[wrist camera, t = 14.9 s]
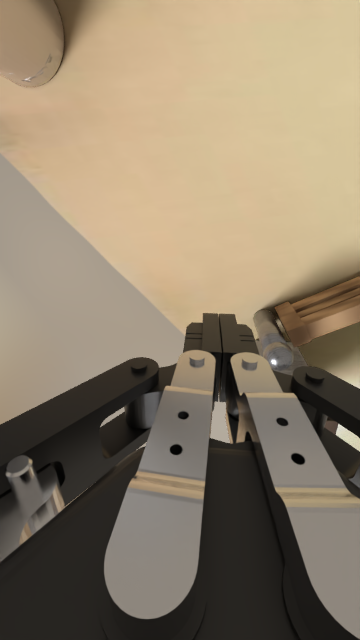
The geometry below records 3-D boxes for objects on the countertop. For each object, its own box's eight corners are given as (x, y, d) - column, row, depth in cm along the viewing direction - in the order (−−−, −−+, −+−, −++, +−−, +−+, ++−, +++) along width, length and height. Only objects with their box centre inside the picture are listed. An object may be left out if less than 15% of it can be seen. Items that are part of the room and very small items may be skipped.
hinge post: (248, 313, 40) (261, 357, 29) (269, 304, 39) (291, 346, 28) (257, 331, 41) (272, 380, 30) (278, 323, 40) (301, 370, 29)
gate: (280, 321, 39) (294, 347, 33) (274, 307, 39) (287, 331, 32) (405, 271, 35) (451, 290, 28) (400, 254, 34) (447, 269, 27)
